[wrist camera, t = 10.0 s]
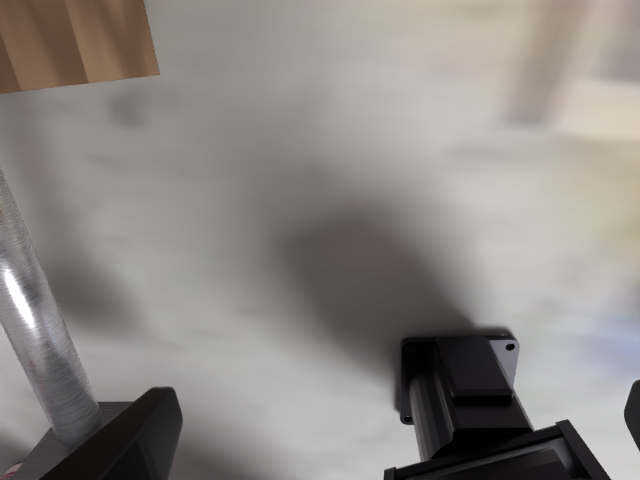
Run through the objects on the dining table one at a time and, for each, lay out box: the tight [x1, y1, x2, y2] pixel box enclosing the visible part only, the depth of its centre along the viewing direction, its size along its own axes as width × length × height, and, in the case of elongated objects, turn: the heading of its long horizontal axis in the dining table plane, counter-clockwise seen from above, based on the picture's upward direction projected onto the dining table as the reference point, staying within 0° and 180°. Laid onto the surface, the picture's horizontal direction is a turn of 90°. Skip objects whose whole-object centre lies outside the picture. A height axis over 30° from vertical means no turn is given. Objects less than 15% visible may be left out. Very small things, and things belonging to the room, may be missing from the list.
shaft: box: [0, 166, 133, 480], centre depth 15 cm, size 20×4×4 cm, turn 4°
